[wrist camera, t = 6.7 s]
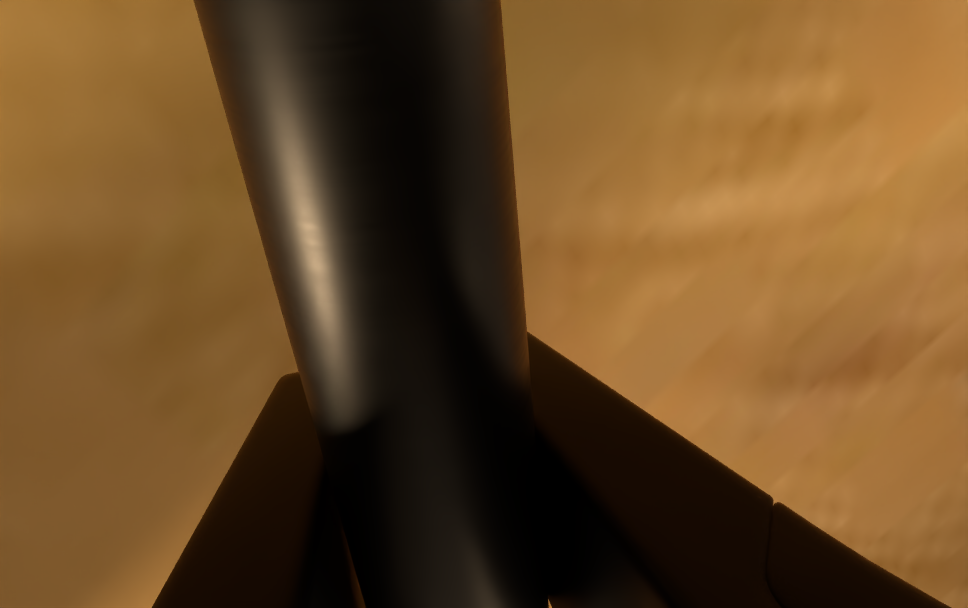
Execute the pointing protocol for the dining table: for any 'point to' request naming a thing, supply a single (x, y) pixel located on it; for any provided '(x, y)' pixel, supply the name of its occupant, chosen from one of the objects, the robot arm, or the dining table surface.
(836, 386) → the dining table surface
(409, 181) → the saucepan
